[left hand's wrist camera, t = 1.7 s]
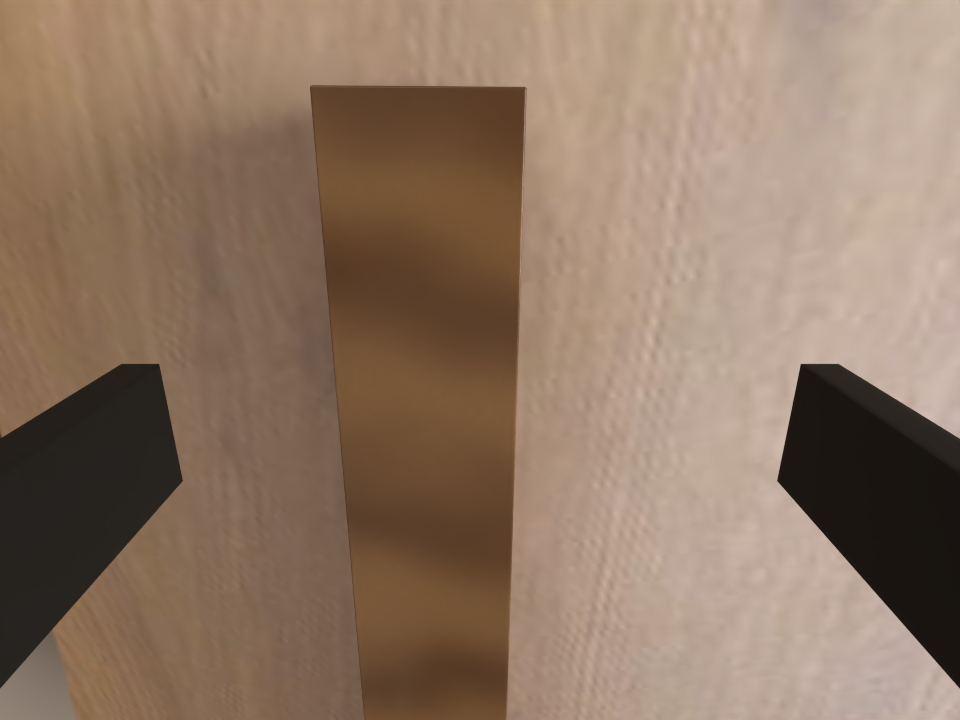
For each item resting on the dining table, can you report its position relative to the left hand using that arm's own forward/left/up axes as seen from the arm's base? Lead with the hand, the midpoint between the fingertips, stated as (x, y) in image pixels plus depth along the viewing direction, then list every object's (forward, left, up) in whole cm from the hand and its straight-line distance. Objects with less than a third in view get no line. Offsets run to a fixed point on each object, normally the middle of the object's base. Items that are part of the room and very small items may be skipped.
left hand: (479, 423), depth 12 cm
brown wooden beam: (+20, +3, -15) cm, 26 cm away
